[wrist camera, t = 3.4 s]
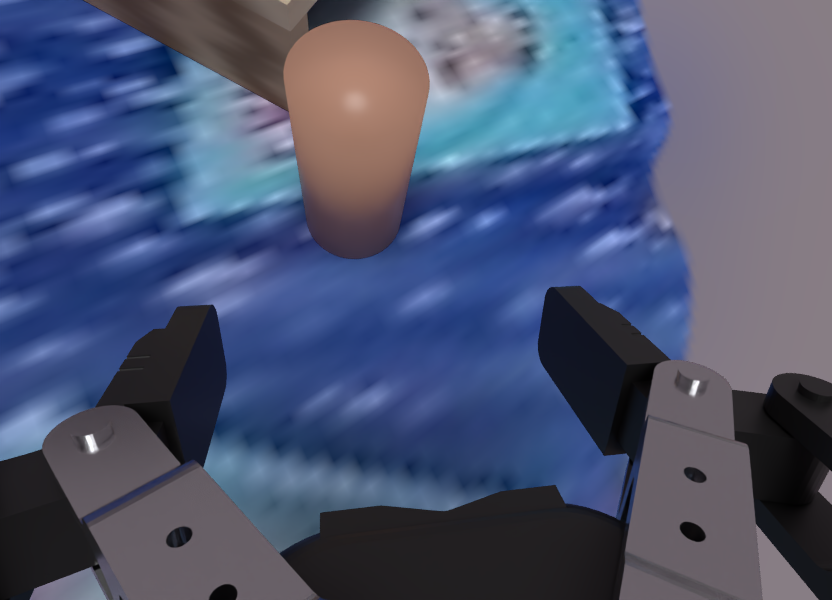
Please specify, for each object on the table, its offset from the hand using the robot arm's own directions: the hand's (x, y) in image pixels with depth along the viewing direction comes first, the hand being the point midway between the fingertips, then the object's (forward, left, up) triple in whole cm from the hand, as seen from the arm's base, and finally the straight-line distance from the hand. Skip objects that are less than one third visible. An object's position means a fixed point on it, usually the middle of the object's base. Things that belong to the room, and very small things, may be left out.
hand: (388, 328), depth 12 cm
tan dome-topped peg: (-6, +9, -14) cm, 18 cm away
